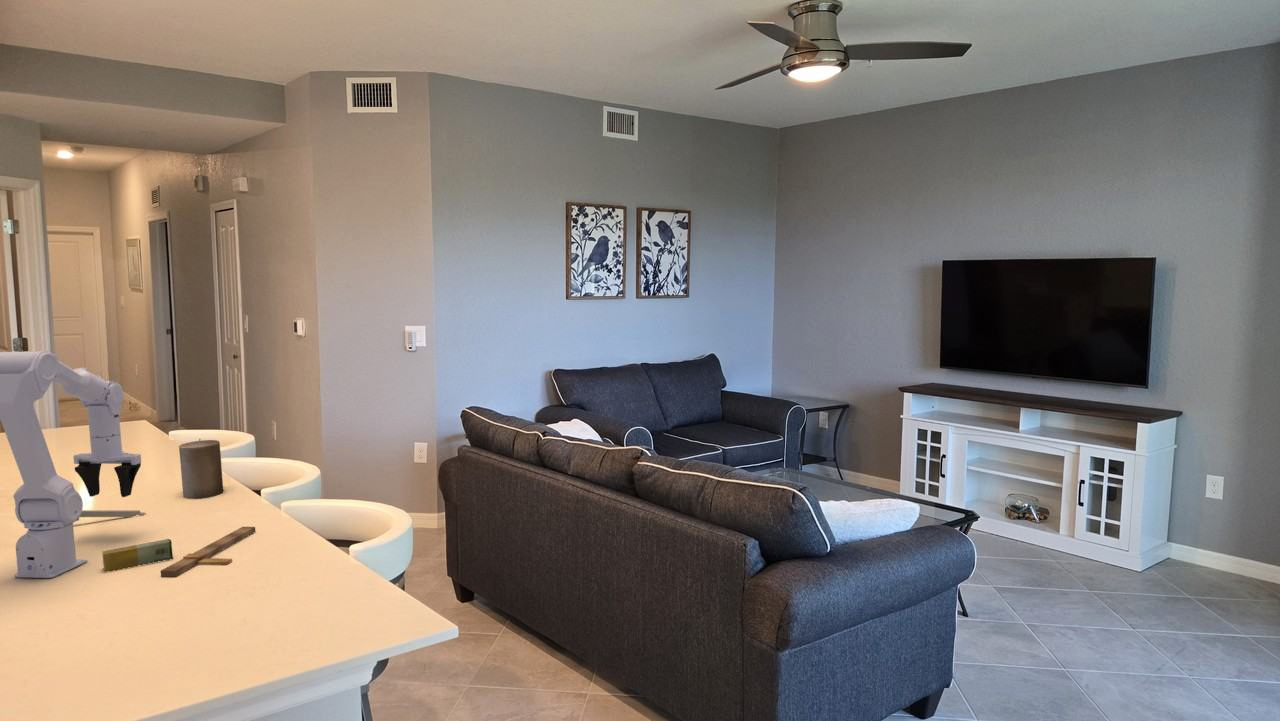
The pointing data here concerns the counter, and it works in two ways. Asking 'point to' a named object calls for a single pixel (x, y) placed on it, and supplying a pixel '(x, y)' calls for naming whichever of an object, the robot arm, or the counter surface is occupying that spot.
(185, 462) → the pillar candle
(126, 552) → the medication box
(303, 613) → the counter surface
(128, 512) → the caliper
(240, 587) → the counter surface
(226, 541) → the brown wooden cross
